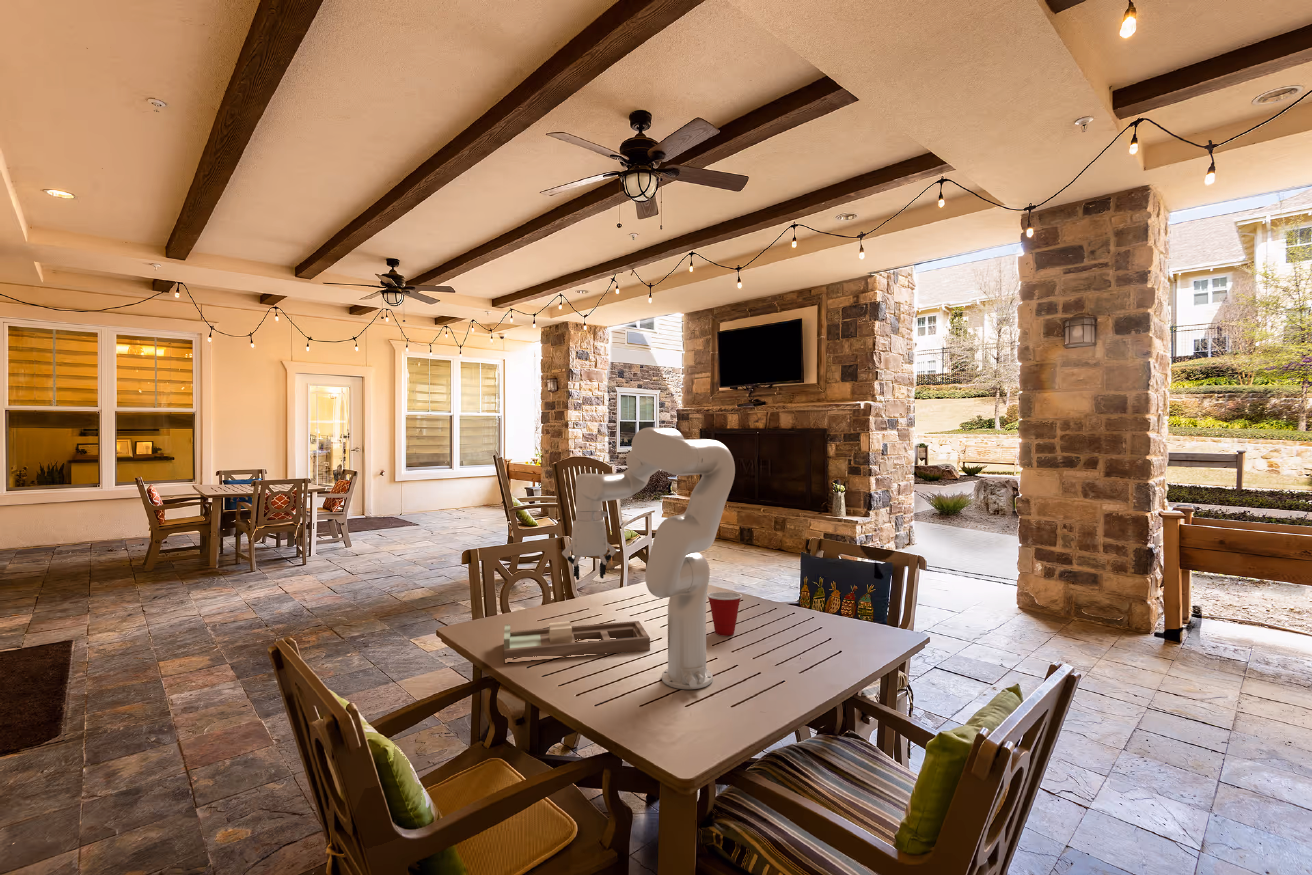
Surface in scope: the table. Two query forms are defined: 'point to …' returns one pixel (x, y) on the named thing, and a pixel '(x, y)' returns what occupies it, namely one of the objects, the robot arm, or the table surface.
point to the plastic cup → (724, 611)
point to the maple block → (560, 632)
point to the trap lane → (538, 641)
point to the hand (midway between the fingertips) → (589, 577)
